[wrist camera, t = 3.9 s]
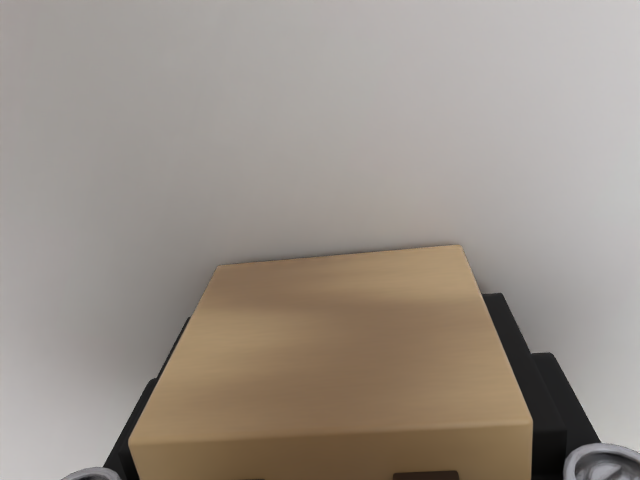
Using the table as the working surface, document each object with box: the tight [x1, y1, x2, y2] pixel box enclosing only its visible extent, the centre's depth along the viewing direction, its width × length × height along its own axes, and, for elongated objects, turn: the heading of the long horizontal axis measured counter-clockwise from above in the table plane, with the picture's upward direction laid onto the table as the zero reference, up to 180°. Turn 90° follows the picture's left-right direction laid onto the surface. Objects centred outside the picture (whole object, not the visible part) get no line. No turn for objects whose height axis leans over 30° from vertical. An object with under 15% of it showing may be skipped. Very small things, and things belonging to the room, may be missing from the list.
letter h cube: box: [128, 245, 533, 480], centre depth 10 cm, size 5×5×5 cm
